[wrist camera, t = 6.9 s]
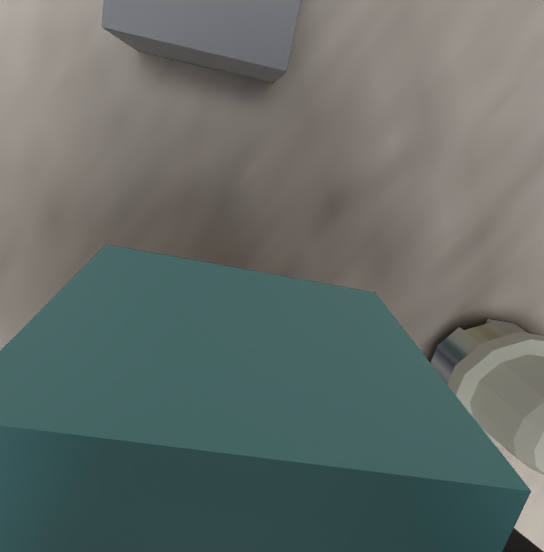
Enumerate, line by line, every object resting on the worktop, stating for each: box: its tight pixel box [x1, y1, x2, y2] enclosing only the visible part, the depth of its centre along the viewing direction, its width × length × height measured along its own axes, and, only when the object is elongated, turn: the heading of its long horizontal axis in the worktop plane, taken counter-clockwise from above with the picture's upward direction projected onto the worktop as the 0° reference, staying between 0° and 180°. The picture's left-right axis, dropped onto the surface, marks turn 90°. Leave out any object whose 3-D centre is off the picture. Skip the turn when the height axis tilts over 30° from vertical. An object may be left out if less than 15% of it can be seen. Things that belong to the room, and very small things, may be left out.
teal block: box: [0, 244, 531, 552], centre depth 7 cm, size 5×5×5 cm
